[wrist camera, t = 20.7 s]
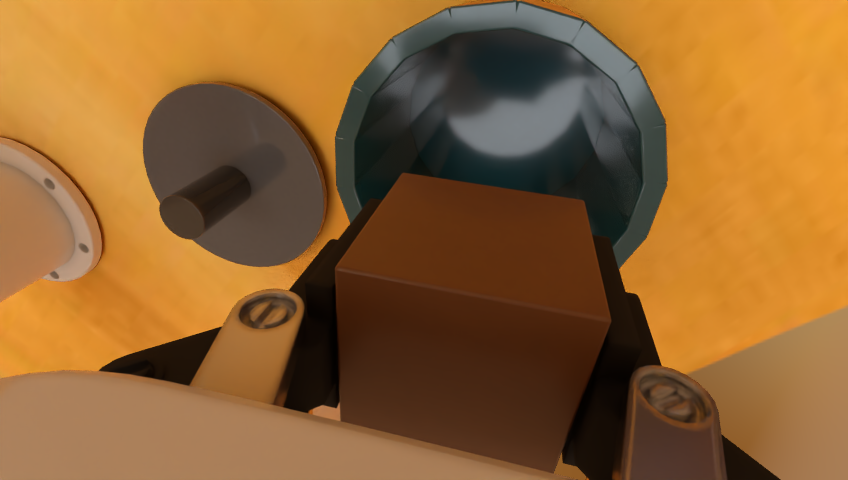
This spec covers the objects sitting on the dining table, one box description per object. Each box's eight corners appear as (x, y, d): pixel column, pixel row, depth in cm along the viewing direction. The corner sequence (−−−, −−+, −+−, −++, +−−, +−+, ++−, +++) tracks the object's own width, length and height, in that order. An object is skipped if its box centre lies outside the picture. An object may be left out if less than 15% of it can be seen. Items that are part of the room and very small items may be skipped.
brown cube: (395, 309, 13) (339, 437, 9) (402, 171, 11) (333, 267, 7) (545, 339, 13) (548, 489, 9) (585, 199, 10) (613, 321, 7)
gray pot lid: (148, 209, 34) (77, 250, 28) (164, 41, 27) (75, 54, 22) (302, 285, 34) (260, 340, 29) (356, 140, 27) (315, 176, 22)
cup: (370, 160, 28) (300, 236, 19) (455, -52, 21) (406, -77, 13) (538, 246, 28) (541, 356, 20) (670, 64, 22) (758, 112, 13)
